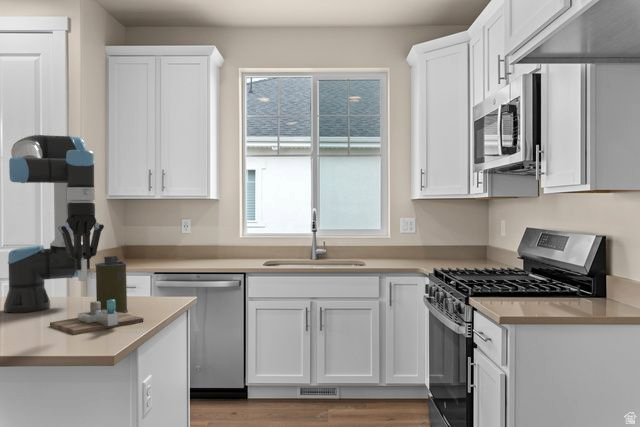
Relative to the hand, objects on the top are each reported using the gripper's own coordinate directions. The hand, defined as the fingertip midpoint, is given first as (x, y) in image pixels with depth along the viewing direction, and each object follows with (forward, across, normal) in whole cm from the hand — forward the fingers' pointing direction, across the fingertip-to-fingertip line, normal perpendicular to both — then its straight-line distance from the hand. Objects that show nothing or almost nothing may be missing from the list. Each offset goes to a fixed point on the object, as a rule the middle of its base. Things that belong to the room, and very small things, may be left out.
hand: (82, 280), depth 159 cm
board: (+15, +7, +7) cm, 18 cm away
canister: (+16, +20, +22) cm, 33 cm away
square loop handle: (+14, +6, +2) cm, 15 cm away
